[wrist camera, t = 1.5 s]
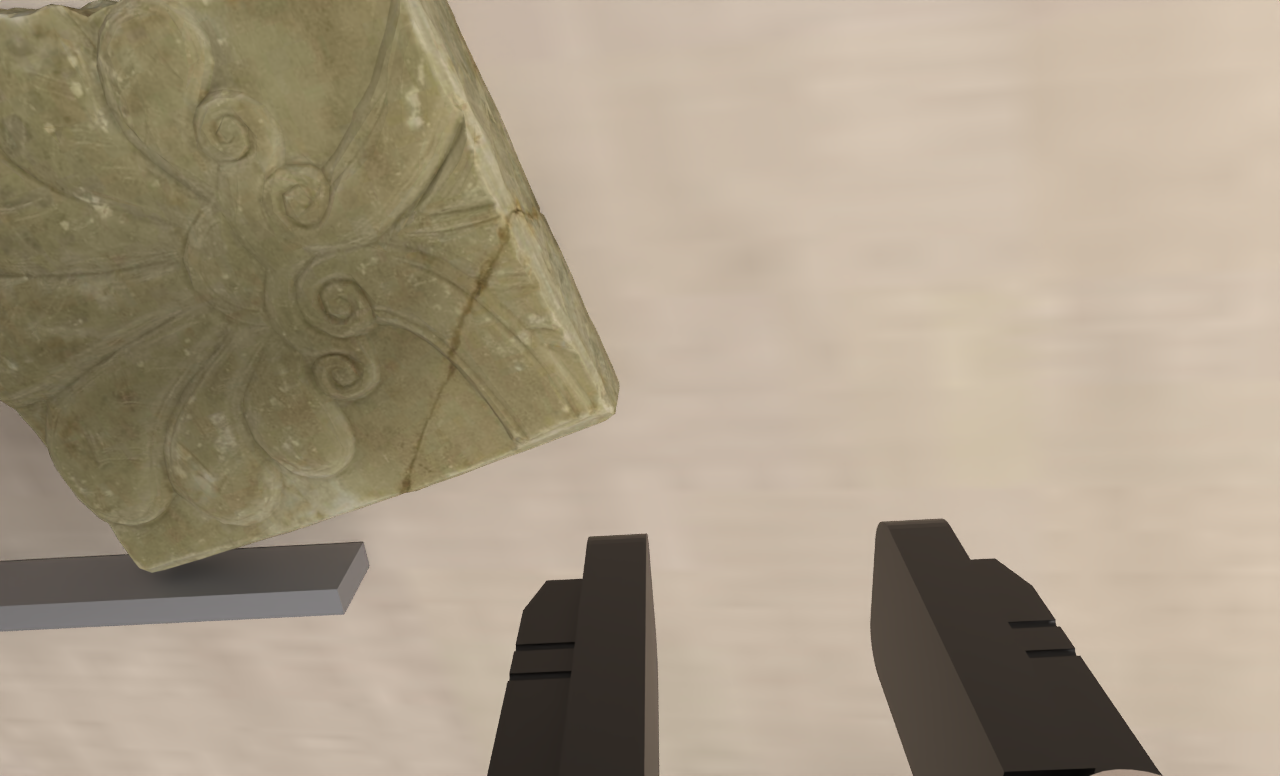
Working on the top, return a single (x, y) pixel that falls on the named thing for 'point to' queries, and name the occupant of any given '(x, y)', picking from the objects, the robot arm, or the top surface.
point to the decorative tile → (271, 265)
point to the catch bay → (181, 588)
